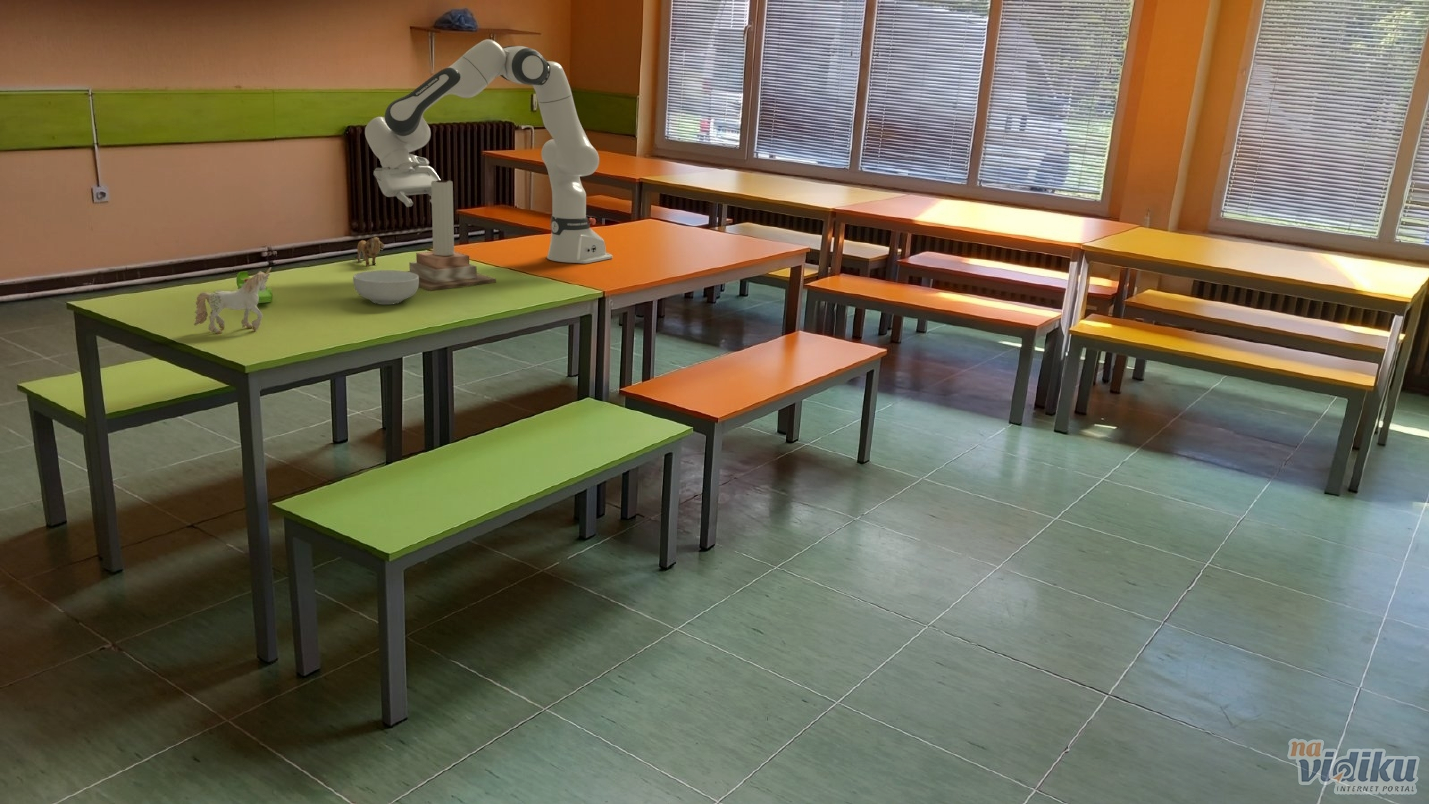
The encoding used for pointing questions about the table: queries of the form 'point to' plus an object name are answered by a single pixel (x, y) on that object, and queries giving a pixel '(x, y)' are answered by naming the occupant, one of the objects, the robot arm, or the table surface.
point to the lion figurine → (369, 249)
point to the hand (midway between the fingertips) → (423, 204)
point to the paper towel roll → (442, 217)
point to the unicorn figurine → (233, 303)
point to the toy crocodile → (263, 295)
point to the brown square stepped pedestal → (446, 271)
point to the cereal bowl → (386, 285)
